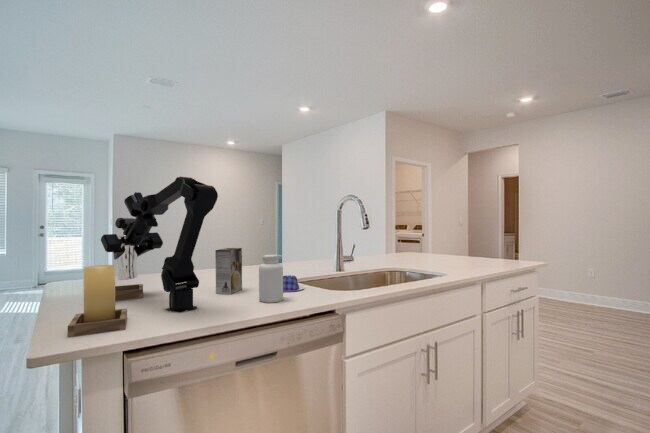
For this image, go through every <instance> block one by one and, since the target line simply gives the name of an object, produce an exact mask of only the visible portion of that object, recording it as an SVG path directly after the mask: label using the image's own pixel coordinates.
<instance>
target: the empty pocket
mask: <svg viewBox="0 0 650 433" xmlns="http://www.w3.org/2000/svg"><path fill="white" fill-rule="evenodd" d="M143 298H144V283H140V284H139V283H137V284H127V285H125V284H124V285H115V301H123V300H133V299H143Z"/></svg>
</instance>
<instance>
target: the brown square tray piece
mask: <svg viewBox="0 0 650 433" xmlns="http://www.w3.org/2000/svg"><path fill="white" fill-rule="evenodd" d="M127 321H128V308H119V309H118V308H117V309H115V319H112V320H104V321H96V322H88V323H84V312H82V313H75V315H74V316H73V318H72V319H71V321H70V322H69V324H68V325H67V338H74V337H80V336H87V335H94V334H102V333H110V332H117V331H124V330H126V327H127V323H128V322H127Z"/></svg>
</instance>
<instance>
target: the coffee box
mask: <svg viewBox="0 0 650 433" xmlns="http://www.w3.org/2000/svg"><path fill="white" fill-rule="evenodd" d="M242 249H243V248H242V247H225V248H220V249H215V294H216V295H233V294H235V293H237V292H239V291H241V290H242V289H243V259H242V258H243V255H242V253H243V250H242Z"/></svg>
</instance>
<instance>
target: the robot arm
mask: <svg viewBox="0 0 650 433" xmlns="http://www.w3.org/2000/svg"><path fill="white" fill-rule="evenodd" d="M182 197H183V198H184V199H183V200H184V203H183V204H184V206H185V209H186V214H185V217H184V221H183V224H182V227H181V231H180V234H179V238H178V241H177V244H176V247H175V251H174V254H173V255H172V256H166V257H165V258H164V261H163V266H162V267H161V270H162V271H161V274H160V278H161V282H162V288H163V291H164V292H165V293H169V296H168V306H169V307H168V308H165V311H168V312H175V313H183V312H188V311H192V310H195V309H198V306H196V305H194V289H195V288H199V285H200V280H199V279H198V277H197V275H196V273H195V271H194V270H195V265H194V262H193V260H192V258H193V255H194V251H195V249H196V248H195V247H196V245H197V243H198V239H199V236H200V232H201V230H202V226H203V223H204V220H205V217H206V216H207V215H208V214H209V213H210V212H211V211H213V209H214V207H215V205H216V203H217V201H218V197H219V195H218V192H217V189H216V187H214V186H213V185H208V184H205V183H203V182H200V181H198V180H197V179H195V178H193V177H189V176H188V177H186V176H177V177H176V178H175V179H174V181H172V182H171V183H169V184H168V185H167V186H165V187H164V188H162V189H161V190H160V191H158V192H157V193H154V194H148V195H145V196H143V193H142V192H136V191H135V192H134V193H133V194H131V195H128V196H127V197H125V199H124V201H123V203H124V205H125V206H126V209H127V211H128V212H129V214H130V217H131V218H129V217H128V218H127V217H118V218H116V220H115V223H114V226H115V227H116V228H117V229H121V230H122V231H123V232H122V235H126V238H125V239H118V237H117V236H118V234H117V233H109V234H102V236H101V237H100V241H101V243H102V246H103V249H104V250H105V252H106V253H112V254H113V259H114V260H115V261H117V258H118V257H119V256H120V255H121V254H122V253H123V250H122V247H123V246H128V245H131V246H136V245H138V255H137V258H138V257H139V256H142V255H144V254H146V253H148V252H151V251H153V250H156V249H161V248H162V246H163V245H164V241H163V240H162V237H161V235H160V233H158V232H151V229H152V228H155V227H158V226H159V225H158V221H157V218H156V217H155V216H162V215H164V214H165V213H166V212H167V211H168V210H169V206H170V205H171V204H172V203H173V202H175V201H177V200H178V199H180V198H182ZM133 217H134V218H133Z"/></svg>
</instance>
